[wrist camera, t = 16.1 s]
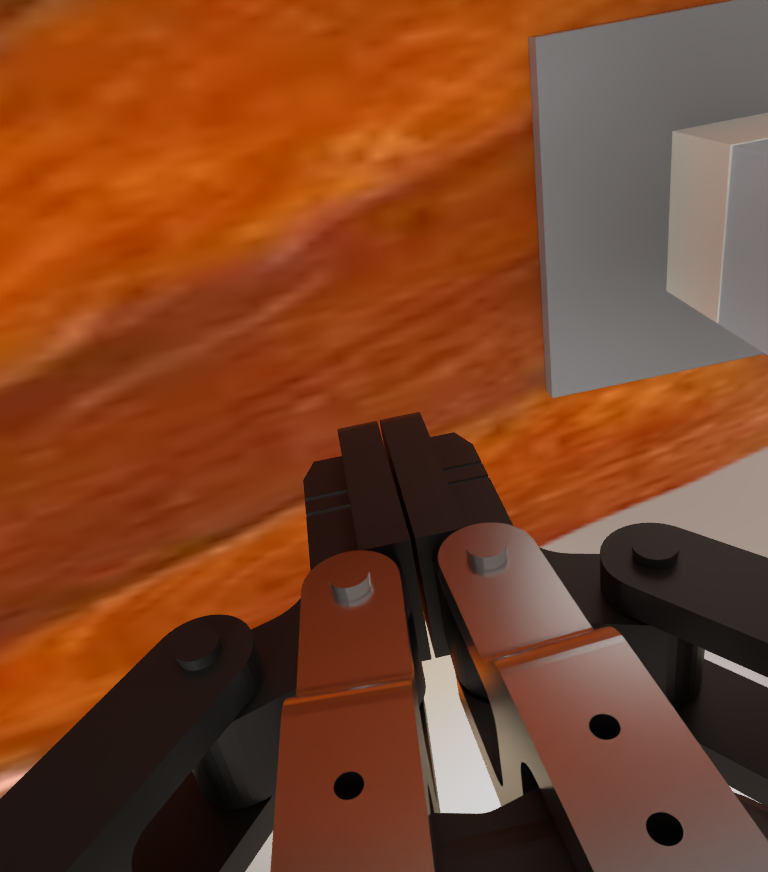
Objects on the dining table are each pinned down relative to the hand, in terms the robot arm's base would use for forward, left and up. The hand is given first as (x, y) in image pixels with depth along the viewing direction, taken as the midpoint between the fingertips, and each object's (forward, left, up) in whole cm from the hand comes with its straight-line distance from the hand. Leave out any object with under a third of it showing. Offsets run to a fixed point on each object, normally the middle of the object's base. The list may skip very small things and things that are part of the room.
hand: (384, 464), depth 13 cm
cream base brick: (+4, +20, -24) cm, 31 cm away
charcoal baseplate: (+4, +20, -25) cm, 32 cm away
